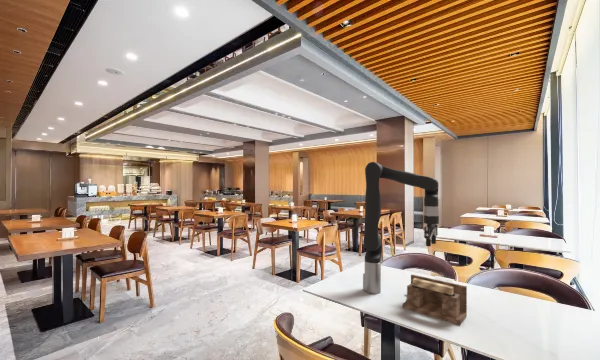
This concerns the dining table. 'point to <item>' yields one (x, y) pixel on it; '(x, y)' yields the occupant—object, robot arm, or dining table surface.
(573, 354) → the dining table surface
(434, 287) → the oak rail
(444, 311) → the wooden pen holder stand
